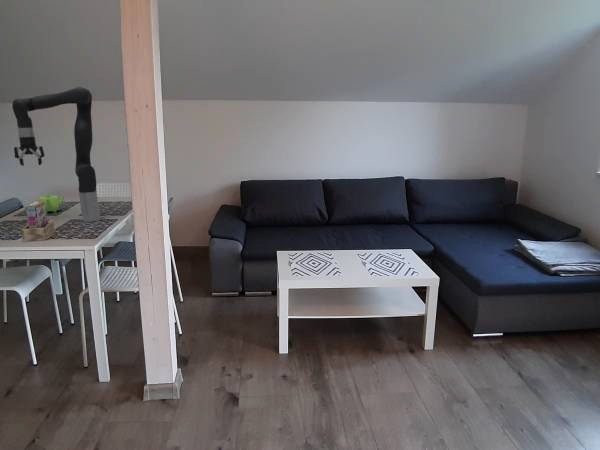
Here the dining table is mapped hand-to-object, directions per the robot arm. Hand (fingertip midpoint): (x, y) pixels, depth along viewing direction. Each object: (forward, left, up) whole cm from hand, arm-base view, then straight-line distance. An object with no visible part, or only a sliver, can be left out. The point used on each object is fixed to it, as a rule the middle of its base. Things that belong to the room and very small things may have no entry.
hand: (31, 165), depth 250 cm
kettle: (0, -28, -33) cm, 44 cm away
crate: (-7, +34, -33) cm, 48 cm away
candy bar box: (-7, +34, -32) cm, 48 cm away
